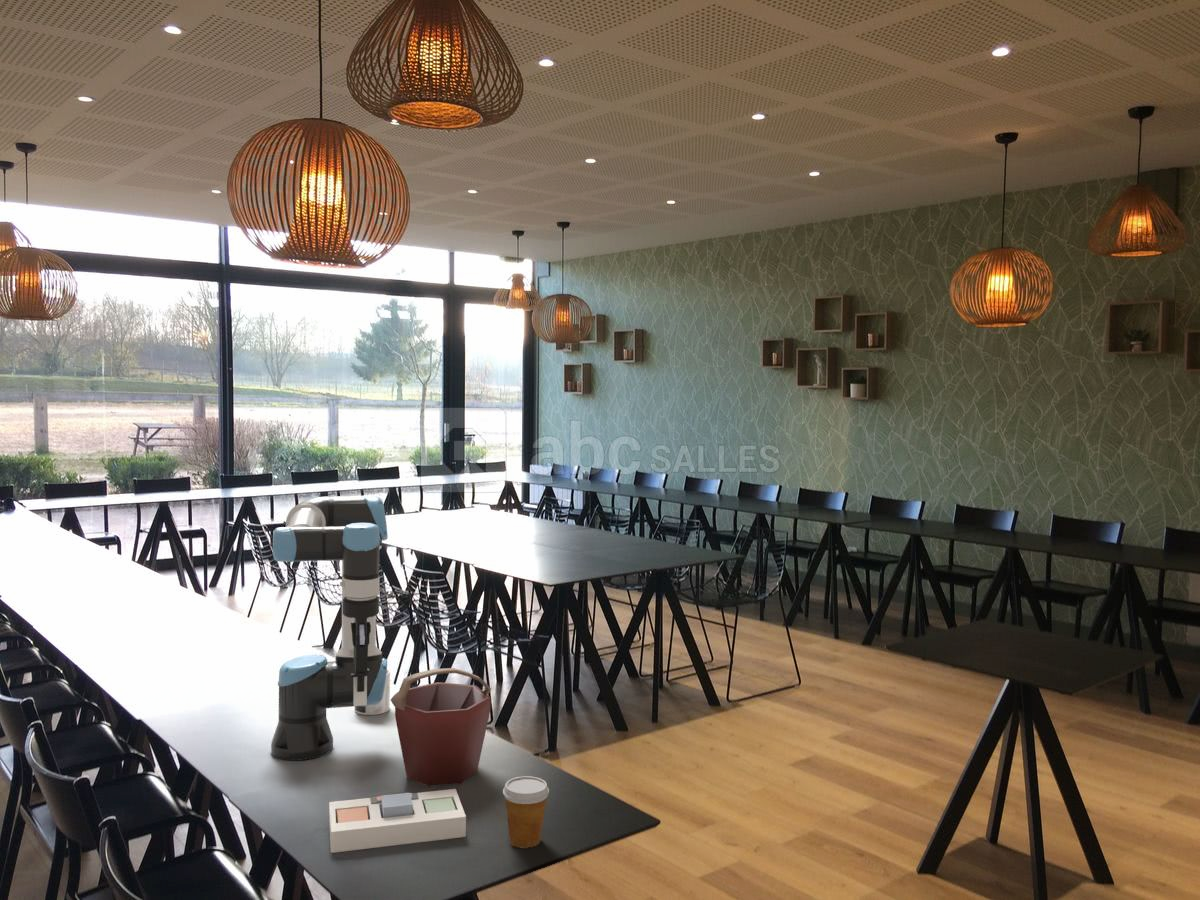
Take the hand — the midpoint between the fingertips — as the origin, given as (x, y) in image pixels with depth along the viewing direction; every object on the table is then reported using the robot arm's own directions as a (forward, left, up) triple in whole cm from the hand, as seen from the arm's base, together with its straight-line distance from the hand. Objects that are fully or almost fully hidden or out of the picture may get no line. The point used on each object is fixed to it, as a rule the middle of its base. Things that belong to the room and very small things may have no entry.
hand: (360, 704), depth 202 cm
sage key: (+8, +16, -23) cm, 29 cm away
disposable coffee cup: (+20, +32, -25) cm, 45 cm away
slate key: (+8, +7, -21) cm, 24 cm away
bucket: (-20, +20, -25) cm, 38 cm away
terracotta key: (+8, -2, -23) cm, 25 cm away
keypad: (+8, +7, -25) cm, 27 cm away
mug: (-67, +7, -25) cm, 72 cm away
